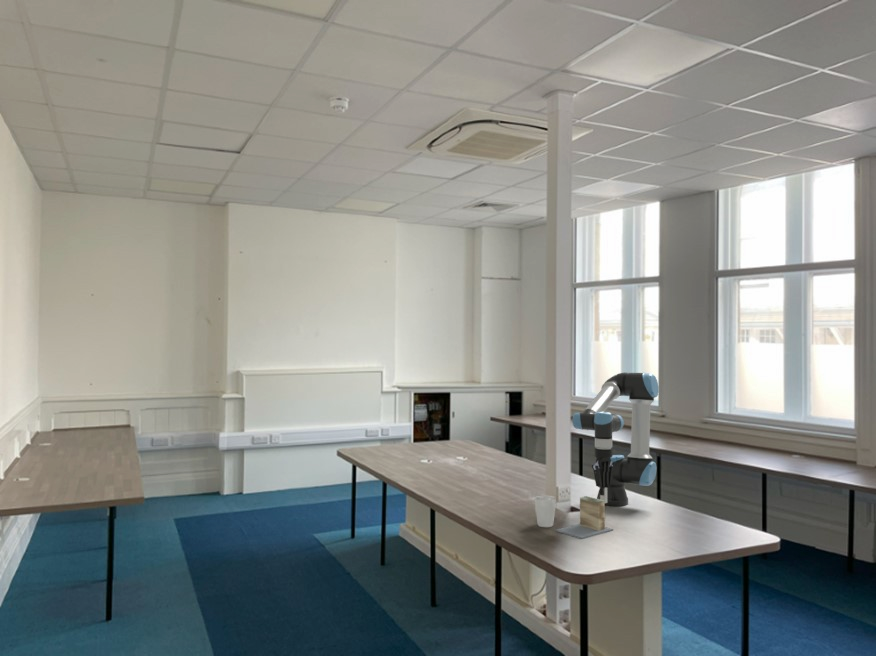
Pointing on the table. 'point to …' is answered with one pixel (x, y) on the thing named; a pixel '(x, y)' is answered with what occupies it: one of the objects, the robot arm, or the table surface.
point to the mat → (582, 531)
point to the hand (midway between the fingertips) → (603, 502)
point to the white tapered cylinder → (545, 510)
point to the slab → (592, 513)
